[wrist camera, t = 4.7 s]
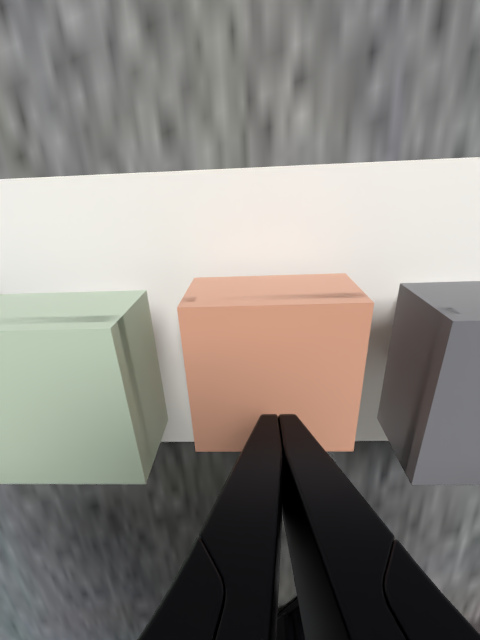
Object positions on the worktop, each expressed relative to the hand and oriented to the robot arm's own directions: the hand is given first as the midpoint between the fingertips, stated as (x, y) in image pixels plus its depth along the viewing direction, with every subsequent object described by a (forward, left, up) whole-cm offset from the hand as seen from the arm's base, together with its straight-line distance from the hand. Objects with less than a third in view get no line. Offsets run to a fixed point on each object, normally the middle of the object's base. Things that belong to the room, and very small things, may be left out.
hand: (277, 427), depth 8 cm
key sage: (+5, +4, -3) cm, 7 cm away
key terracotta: (0, 0, -5) cm, 5 cm away
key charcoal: (-6, -3, -3) cm, 7 cm away
